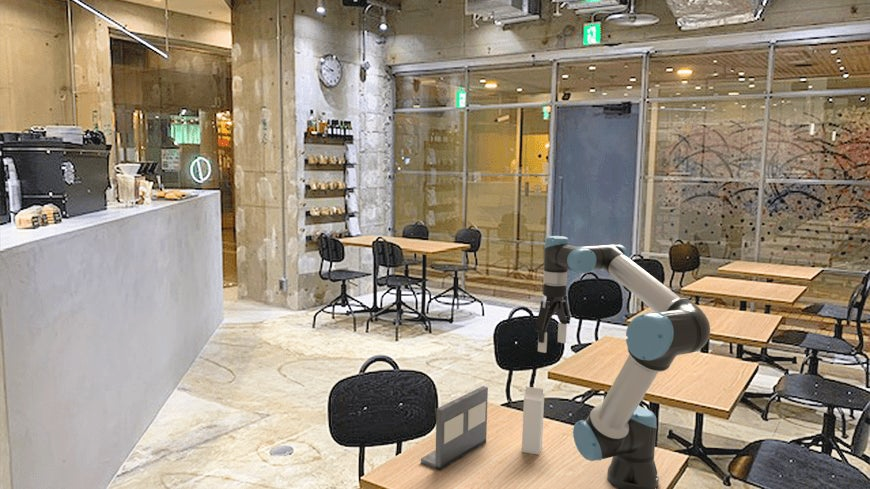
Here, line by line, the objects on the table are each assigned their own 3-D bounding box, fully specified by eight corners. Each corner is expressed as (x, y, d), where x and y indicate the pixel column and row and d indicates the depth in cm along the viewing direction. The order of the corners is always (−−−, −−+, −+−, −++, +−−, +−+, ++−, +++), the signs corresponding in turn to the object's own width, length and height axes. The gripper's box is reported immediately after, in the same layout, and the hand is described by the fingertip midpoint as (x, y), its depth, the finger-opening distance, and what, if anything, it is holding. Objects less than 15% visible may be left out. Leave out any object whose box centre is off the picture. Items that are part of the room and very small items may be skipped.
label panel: (486, 442, 217) (488, 387, 215) (441, 471, 197) (442, 410, 194) (467, 435, 222) (468, 381, 220) (420, 462, 202) (421, 403, 199)
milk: (524, 444, 217) (527, 383, 214) (542, 447, 215) (544, 385, 212) (521, 452, 211) (523, 389, 208) (539, 455, 209) (542, 391, 206)
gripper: (562, 276, 215) (559, 336, 218) (525, 287, 196) (522, 353, 198) (582, 279, 210) (579, 340, 213) (546, 291, 191) (543, 358, 194)
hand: (552, 347), depth 206 cm, fingers open, 13 cm apart
